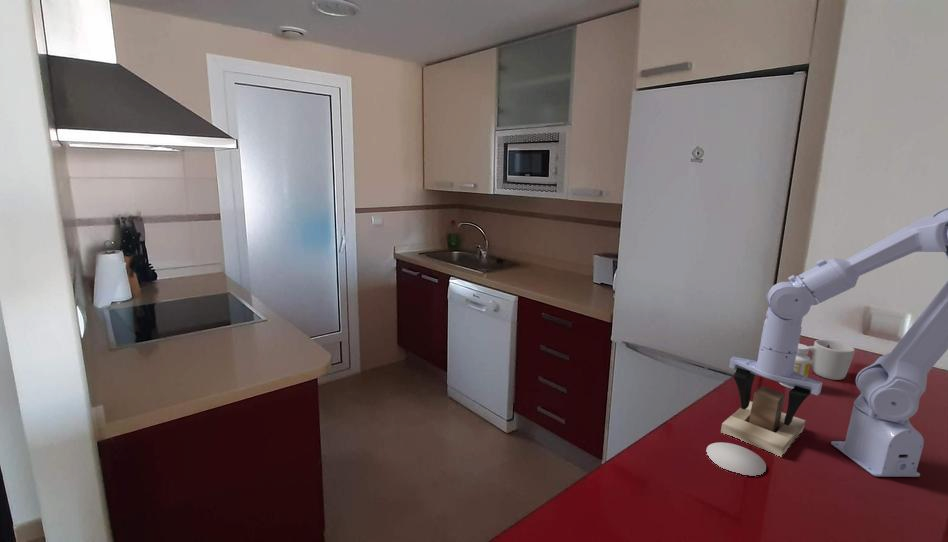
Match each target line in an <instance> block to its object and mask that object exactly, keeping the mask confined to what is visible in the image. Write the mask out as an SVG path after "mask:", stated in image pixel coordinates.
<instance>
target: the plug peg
mask: <svg viewBox="0 0 948 542" xmlns="http://www.w3.org/2000/svg"><path fill="white" fill-rule="evenodd" d="M785 396H786V393H783V392H782V391H777V390H775V389H772V388H768V387H766V386H760V387H758V388H757V389H756V390H755V391H754V392H753V398H752V408H751V413H750V419H749V423H751V424H754V425H756V426H759V427H762V428H764V429H767V430H769V431H772V432H775V433H776V432H777V431H778V428H779V423H780V418H781V413H782V412H783V407H784V402H785V398H786V397H785Z"/></svg>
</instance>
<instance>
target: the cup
mask: <svg viewBox="0 0 948 542" xmlns="http://www.w3.org/2000/svg"><path fill="white" fill-rule="evenodd" d="M807 346H808V345H807ZM808 347H809V352H811V354H812V355H811V357H810V359H811V362H810V367H812V370H813V373H814V374H816V375H817V376H819V377H822V378H824V379H828V380H834V381H838V380H839V381H840V380H844V379H845V378H846V376H847V373H848V372H849V368H850V367H851V363H852V361H853V359H854V356H855V353H856V349H855V348H854V347H853V346H852V345H849V344H846V343H843V342H840V341H836V340H829V339H817V340H815V341H814V343H813V345H809V346H808Z"/></svg>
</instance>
